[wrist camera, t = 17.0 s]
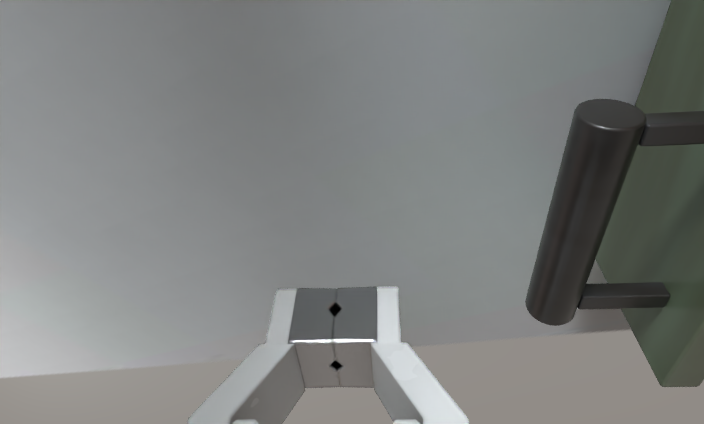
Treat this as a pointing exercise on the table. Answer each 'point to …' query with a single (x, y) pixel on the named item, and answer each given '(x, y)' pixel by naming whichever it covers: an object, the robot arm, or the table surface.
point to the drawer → (636, 208)
